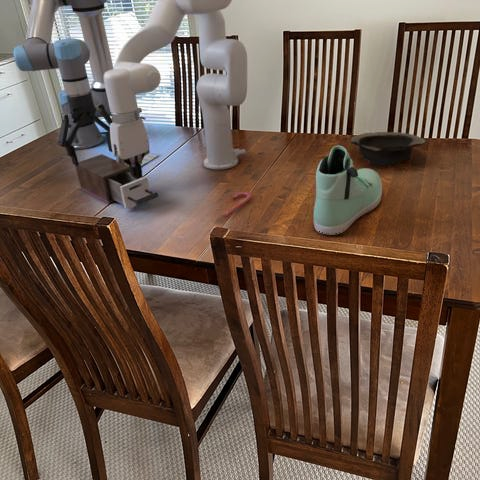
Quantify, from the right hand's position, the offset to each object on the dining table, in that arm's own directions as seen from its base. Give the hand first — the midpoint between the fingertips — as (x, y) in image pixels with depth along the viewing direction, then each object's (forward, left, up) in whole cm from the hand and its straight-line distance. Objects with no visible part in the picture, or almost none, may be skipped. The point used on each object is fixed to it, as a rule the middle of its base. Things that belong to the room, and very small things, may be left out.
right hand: (137, 177), depth 142 cm
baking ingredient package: (-9, -40, -11) cm, 42 cm away
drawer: (+2, -7, -10) cm, 12 cm away
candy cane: (-25, +14, -11) cm, 31 cm away
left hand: (+8, -24, 0) cm, 26 cm away
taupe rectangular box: (+7, -20, -11) cm, 24 cm away
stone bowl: (-85, +10, -11) cm, 86 cm away
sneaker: (-52, +33, -11) cm, 63 cm away
